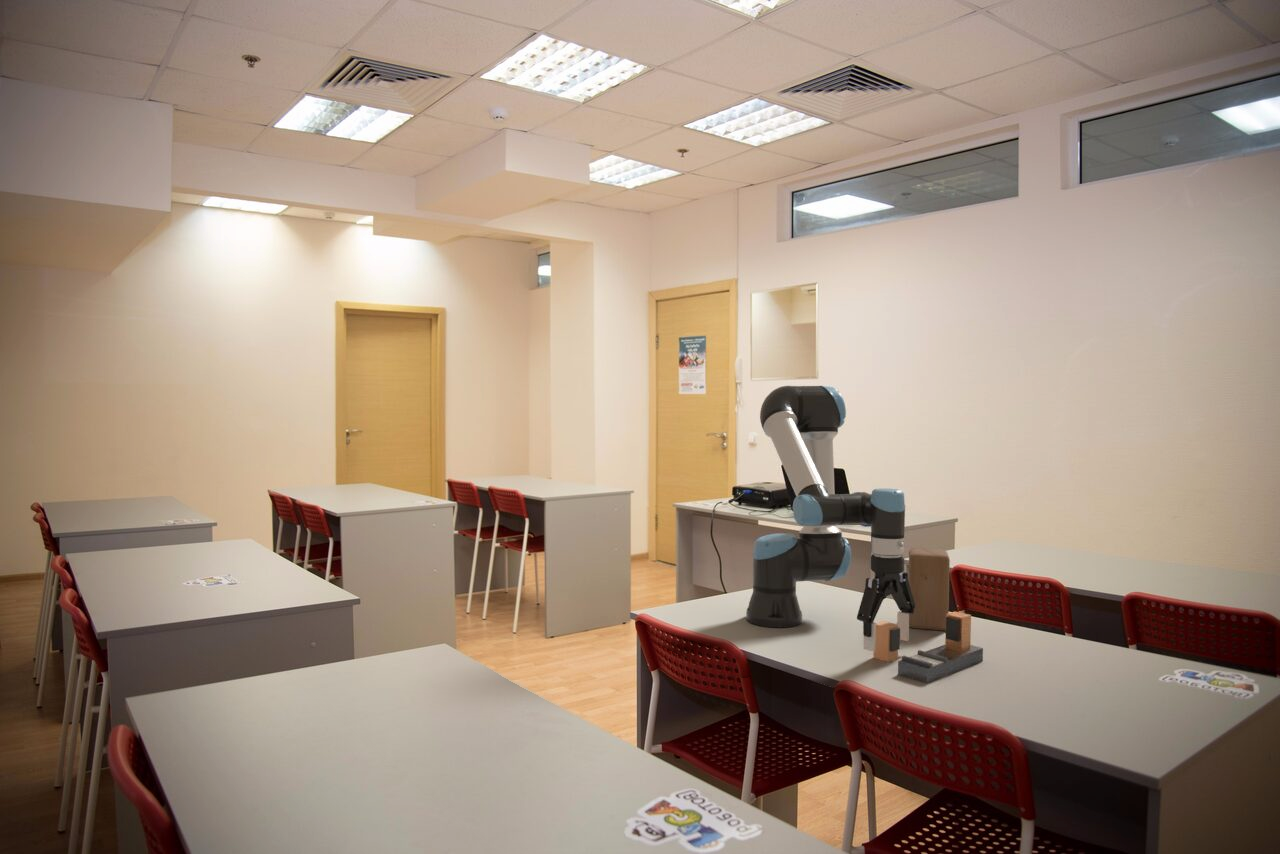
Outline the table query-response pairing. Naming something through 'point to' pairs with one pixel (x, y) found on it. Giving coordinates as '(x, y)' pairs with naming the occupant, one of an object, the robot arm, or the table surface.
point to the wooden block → (929, 588)
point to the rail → (944, 653)
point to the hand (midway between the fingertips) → (886, 644)
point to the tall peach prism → (887, 641)
